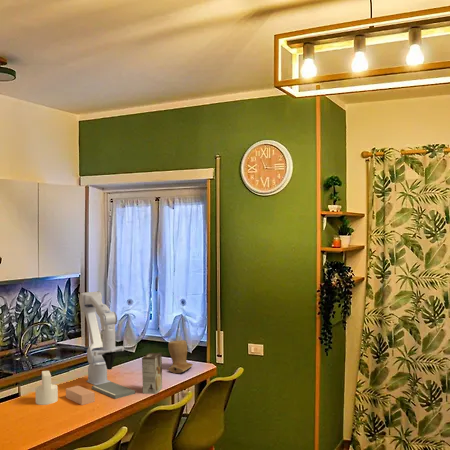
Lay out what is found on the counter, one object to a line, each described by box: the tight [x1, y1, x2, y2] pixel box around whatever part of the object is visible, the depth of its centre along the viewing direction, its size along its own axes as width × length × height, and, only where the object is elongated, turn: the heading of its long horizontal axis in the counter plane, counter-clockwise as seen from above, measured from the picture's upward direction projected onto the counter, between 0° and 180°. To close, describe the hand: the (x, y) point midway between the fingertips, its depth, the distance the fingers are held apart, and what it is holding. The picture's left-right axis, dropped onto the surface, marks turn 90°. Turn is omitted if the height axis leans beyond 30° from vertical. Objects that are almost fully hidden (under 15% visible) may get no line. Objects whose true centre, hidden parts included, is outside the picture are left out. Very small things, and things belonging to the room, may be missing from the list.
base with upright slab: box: [35, 370, 59, 406], centre depth 234 cm, size 9×9×12 cm
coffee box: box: [141, 352, 163, 395], centre depth 246 cm, size 9×6×16 cm
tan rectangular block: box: [65, 385, 96, 406], centre depth 235 cm, size 14×6×4 cm, turn 43°
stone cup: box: [167, 339, 194, 374], centre depth 280 cm, size 15×12×15 cm
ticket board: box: [91, 381, 136, 400], centre depth 246 cm, size 20×10×2 cm, turn 43°
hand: (109, 369), depth 249 cm, fingers closed
